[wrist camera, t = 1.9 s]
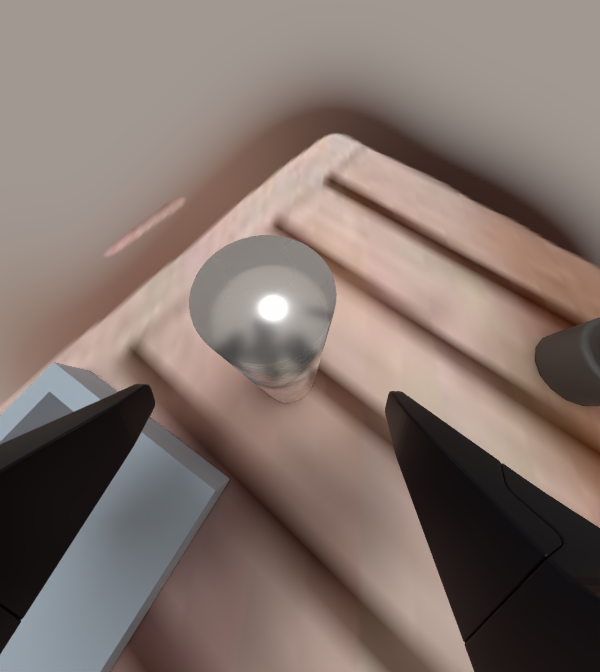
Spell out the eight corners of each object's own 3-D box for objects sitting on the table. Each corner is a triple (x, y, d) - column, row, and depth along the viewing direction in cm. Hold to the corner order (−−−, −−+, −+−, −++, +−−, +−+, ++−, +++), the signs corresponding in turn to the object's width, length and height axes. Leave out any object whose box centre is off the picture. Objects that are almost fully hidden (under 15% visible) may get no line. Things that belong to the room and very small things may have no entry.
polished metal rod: (324, 366, 19) (361, 271, 7) (296, 413, 18) (284, 395, 6) (280, 340, 20) (247, 216, 8) (251, 383, 19) (157, 314, 7)
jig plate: (230, 478, 16) (215, 490, 14) (54, 760, 12) (-22, 863, 9) (89, 370, 19) (53, 362, 17) (-94, 564, 15) (-186, 598, 12)
